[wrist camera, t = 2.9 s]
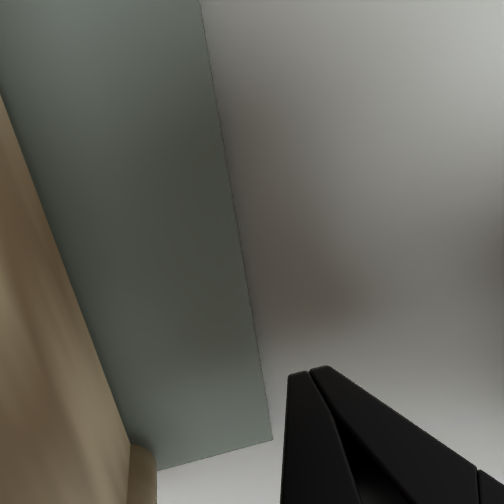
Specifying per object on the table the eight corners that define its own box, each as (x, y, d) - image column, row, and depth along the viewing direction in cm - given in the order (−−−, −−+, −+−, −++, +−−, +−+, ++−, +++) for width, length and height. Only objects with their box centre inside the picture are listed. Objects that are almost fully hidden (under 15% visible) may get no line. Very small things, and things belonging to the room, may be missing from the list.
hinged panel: (-129, 15, 7) (-949, -78, 2) (-4, -2, 8) (-416, -131, 2) (95, 501, 13) (52, 836, 7) (163, 483, 13) (169, 795, 8)
